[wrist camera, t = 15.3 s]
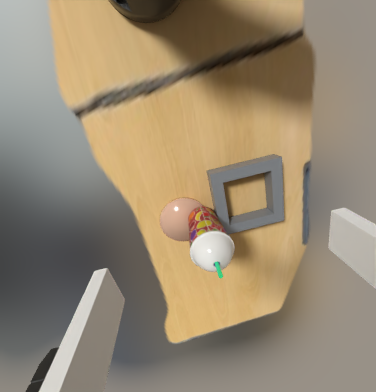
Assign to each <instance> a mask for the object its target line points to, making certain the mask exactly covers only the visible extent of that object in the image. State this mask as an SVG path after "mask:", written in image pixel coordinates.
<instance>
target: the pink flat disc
mask: <svg viewBox="0 0 376 392" xmlns="http://www.w3.org/2000/svg"><path fill="white" fill-rule="evenodd" d="M197 207H204V206H203V205H202V204H201V203H200V202H198V201H196V200H194V199H191V198H178V199H175V200H173V201H171V202H169V203H168V204H167V205H166V206H165V207H164V208H163V210H162V212H161V215H160V226H161V229H162V230H163V232H164V233H165V234H166V235H167V236H168V237H170V238H171V239H174V240H177V241H188V240H189V225H188V217H189V214H190V213H191V212H192V211H193V210H194V209H195V208H197Z"/></svg>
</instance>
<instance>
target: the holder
mask: <svg viewBox="0 0 376 392" xmlns="http://www.w3.org/2000/svg"><path fill="white" fill-rule="evenodd" d="M260 173H264V174H265V187H266V201H267V208H264V209H260V210H256V211H252V212H248V213H244V214H240V215H236V216H232V217H228V211H227V205H226V199H225V192H224V186H223V183H224V182H228V181H232V180H236V179H240V178H244V177H248V176H252V175H256V174H260ZM207 175H208V180H209V185H210V190H211V195H212V201H213V206H214V211H215V214H216V216H217V217H218V219H219V221H220V222H221V224H222V225H223V227H224V228H225V230H226V231H227V233H228V234H232V233H236V232H240V231H243V230H247V229H251V228H255V227H259V226H263V225H267V224H271V223H275V222H279V221H283V220H284V200H283V173H282V157H281V156H278V155H275V154H272V155H268V156H264V157H260V158H256V159H252V160H248V161H244V162H240V163H236V164H232V165H228V166H224V167H220V168H216V169H212V170H208V171H207Z"/></svg>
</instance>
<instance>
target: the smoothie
mask: <svg viewBox="0 0 376 392" xmlns="http://www.w3.org/2000/svg"><path fill="white" fill-rule="evenodd" d="M188 225H189V240H190V256H191V259H192V261H193V262H194V263H195V264H196V265H197V266H199V267H200V268H202V269H204V270H206V271H209V272H217V273H218V276H219V278H222V277H223V275H222V272H221V270H223V269H224V268H226V267H227V266H228V265H229V263H230V261H231V259H232V257H233V254H234V249H235V246H234V242H233V240H232V239H231V237H230V236H229V234H228V233H227V231H226V230H225V228H224V227H223V225H222V224H221V222H220V221H219V219H218V217H217V216H216V214H215V213H214V212H213V210H212V209H210V208H208V207H197V208H195V209H194V210H193V211H192V212H191V213H190V214H189V217H188Z"/></svg>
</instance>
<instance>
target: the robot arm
mask: <svg viewBox="0 0 376 392" xmlns="http://www.w3.org/2000/svg"><path fill="white" fill-rule="evenodd" d="M180 1H181V0H109V2H110V3H111V4H112V5H113V6H114V7H115V8H116V9H117V10H118V11H119V12H120V13H121V14H123V15H124V16H126V17H128V18H130V19H132V20H134V21H138V22H143V23H151V22H156V21H159V20H162V19H164V18H165V17H167V16H168V15H170V14H171V13H172V12H173V11H174V10H175V8H176V7H177V6H178V4H179V3H180ZM328 247H329V249H330V250H331V251H332V252H333V253H334V254H335V255H337V256H338V257H339V258H340V259H341V260H342V261H344V262H345V263H346V264H347V265H348V266H349V267H350V268H352V269H353V270H354V271H355V272H356V273H358V274H359V275H360V276H361V277H362V278H363V279H365V280H366V281H367V282H368V283H369V284H371V285H372V286H373V287H374V288H375V289H376V224H374V223H372V222H370V221H369V220H367V219H365V218H363V217H361V216H359V215H358V214H356V213H354V212H352V211H350V210H348V209H347V208H345V207H344V208H340V209H337V210H332V211H331V221H330V234H329V246H328ZM124 301H125V299H124V297H123V295H122V294H121V292H120V290H119V288H118V286H117V284H116V283H115V281H114V279H113V277H112V275H111V274H110V272H109V270H108V268H105V269H101V270H97V271H94V274H93V276H92V278H91V280H90V282H89V284H88V286H87V289H86V291H85V293H84V295H83V297H82V299H81V302H80V304H79V306H78V308H77V310H76V312H75V315H74V317H73V319H72V321H71V323H70V325H69V328H68V330H67V332H66V334H65V337H64V338H63V341H62V343H61V345H60V347H58V348H54V349H51V350H50V352H49V353H48V354H47V355H46V357H45V358H44V359H43V361H42V362H41V363H40V364H39V366H38V369H37V370H36V373H35V374H34V376H33V378H32V380H31V384H30V385H29V386H28V388H27V390H26V392H104V389H105V384H106V380H107V375H108V372H109V367H110V363H111V358H112V353H113V350H114V345H115V341H116V336H117V332H118V328H119V323H120V319H121V315H122V311H123V306H124Z"/></svg>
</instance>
